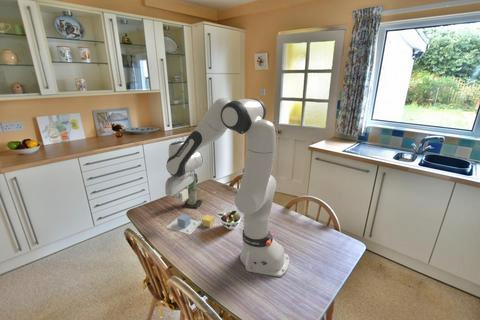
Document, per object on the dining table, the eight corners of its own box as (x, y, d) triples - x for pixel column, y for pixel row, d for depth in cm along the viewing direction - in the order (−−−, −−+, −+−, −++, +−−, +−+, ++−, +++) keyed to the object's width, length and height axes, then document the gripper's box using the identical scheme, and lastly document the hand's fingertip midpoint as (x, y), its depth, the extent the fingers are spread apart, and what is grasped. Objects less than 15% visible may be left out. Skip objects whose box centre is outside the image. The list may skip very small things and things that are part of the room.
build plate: (202, 223, 136) (202, 222, 136) (190, 235, 126) (190, 234, 126) (179, 217, 142) (179, 215, 142) (166, 228, 132) (165, 226, 132)
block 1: (188, 197, 130) (187, 189, 128) (182, 202, 125) (182, 193, 124) (180, 196, 132) (180, 187, 130) (175, 200, 127) (174, 191, 126)
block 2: (190, 223, 135) (190, 215, 133) (185, 228, 131) (184, 220, 129) (183, 221, 137) (182, 213, 135) (178, 226, 133) (177, 218, 131)
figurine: (197, 210, 150) (193, 165, 140) (182, 208, 152) (177, 164, 142) (202, 202, 159) (200, 159, 149) (188, 200, 161) (184, 158, 151)
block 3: (214, 224, 136) (214, 216, 134) (210, 229, 132) (209, 221, 130) (207, 222, 138) (206, 214, 136) (202, 226, 134) (201, 219, 132)
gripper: (171, 180, 113) (173, 206, 118) (195, 166, 131) (197, 189, 135) (160, 178, 115) (163, 203, 120) (186, 164, 133) (187, 187, 138)
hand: (181, 196), depth 128 cm, fingers closed on block 1, 5 cm apart
